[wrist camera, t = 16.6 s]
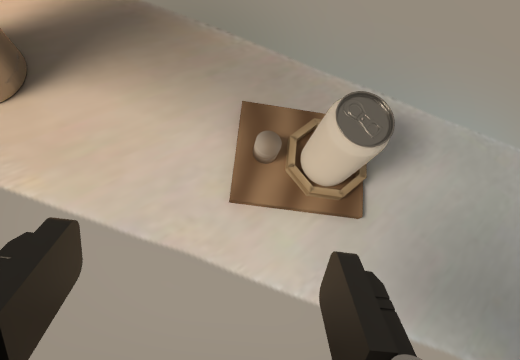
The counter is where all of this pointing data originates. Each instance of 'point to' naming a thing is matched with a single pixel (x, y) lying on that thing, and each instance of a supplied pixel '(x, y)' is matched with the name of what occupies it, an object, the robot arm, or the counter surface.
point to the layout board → (286, 165)
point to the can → (347, 138)
